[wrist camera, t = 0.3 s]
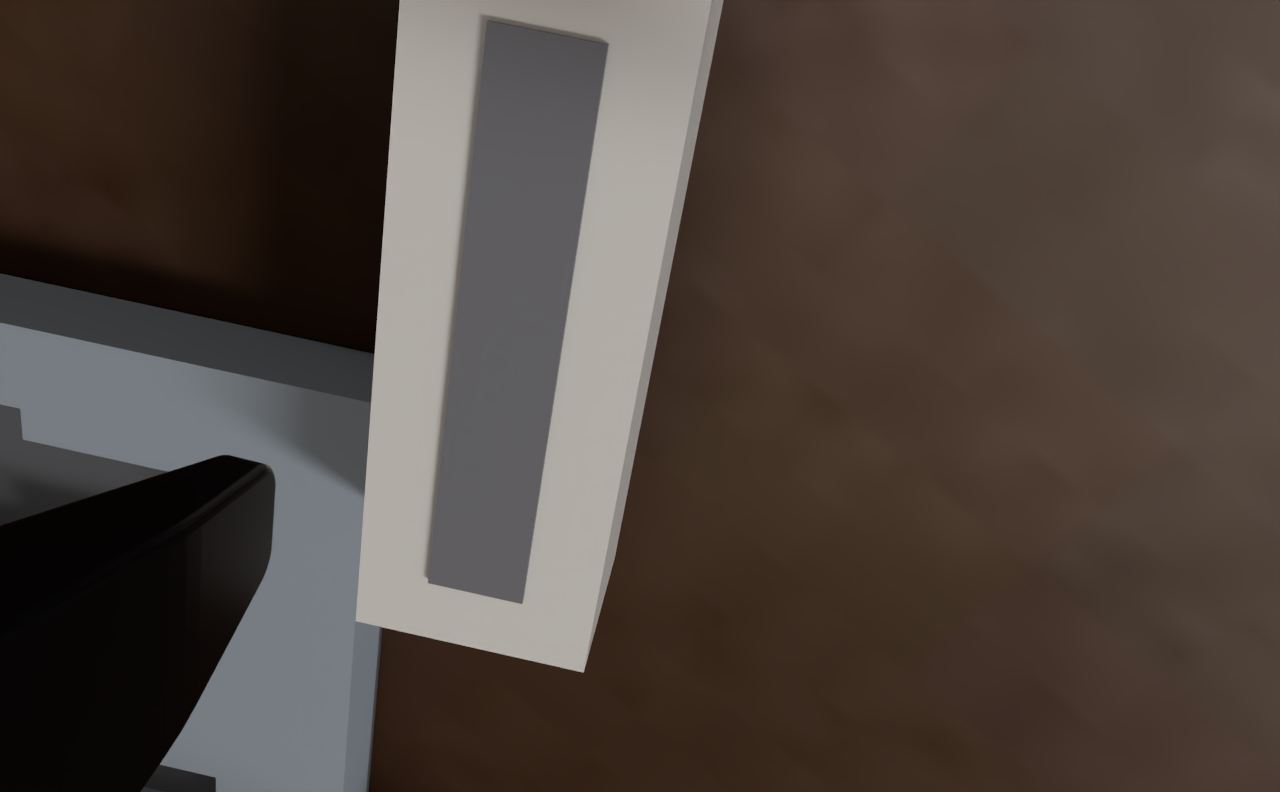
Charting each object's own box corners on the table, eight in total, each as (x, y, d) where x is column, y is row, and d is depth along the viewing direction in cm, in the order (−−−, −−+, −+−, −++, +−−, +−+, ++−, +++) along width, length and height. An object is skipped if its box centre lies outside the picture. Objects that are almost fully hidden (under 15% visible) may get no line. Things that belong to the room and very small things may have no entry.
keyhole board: (359, 898, 30) (330, 965, 28) (-139, 780, 30) (-198, 838, 28) (404, 360, 22) (370, 402, 21) (-247, 220, 23) (-335, 250, 21)
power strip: (626, 515, 23) (580, 683, 19) (442, 475, 24) (349, 632, 19) (759, -166, 18) (744, -180, 13) (515, -213, 18) (408, -244, 13)
